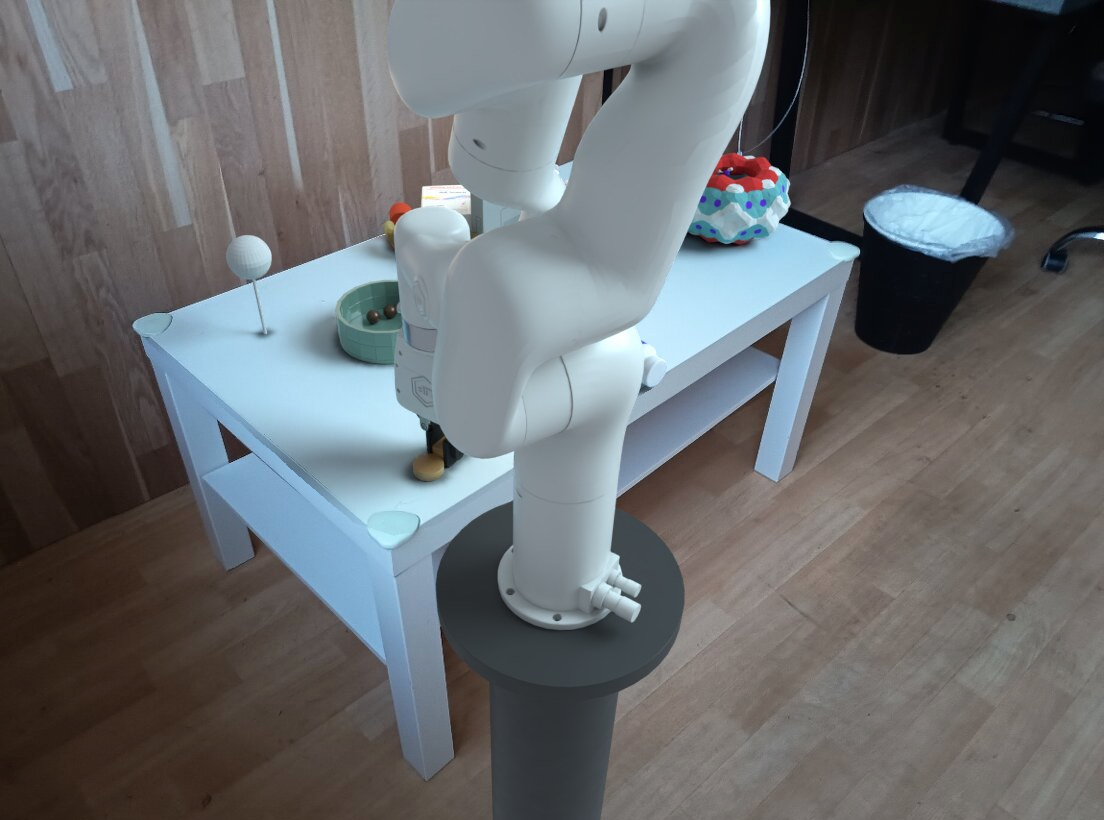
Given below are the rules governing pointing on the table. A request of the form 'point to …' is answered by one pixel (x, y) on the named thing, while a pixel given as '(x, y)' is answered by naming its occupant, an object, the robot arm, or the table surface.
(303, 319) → the table surface
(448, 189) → the ink box
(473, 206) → the cassette player
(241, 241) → the lollipop
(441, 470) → the spoon
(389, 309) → the bead
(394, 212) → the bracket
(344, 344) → the bowl
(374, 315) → the bead
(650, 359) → the pill bottle
